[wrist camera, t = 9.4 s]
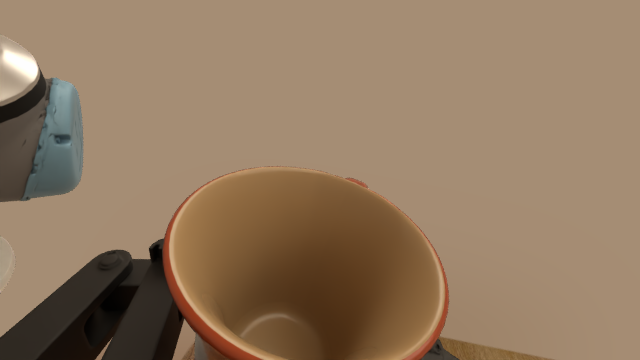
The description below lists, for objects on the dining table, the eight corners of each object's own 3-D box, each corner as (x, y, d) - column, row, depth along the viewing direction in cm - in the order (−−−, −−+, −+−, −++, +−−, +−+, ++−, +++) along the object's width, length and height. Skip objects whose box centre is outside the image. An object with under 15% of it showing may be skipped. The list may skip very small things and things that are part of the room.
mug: (309, 591, 8) (476, 531, 3) (128, 420, 10) (70, 239, 5) (376, 303, 18) (439, 190, 13) (280, 251, 20) (304, 139, 16)
